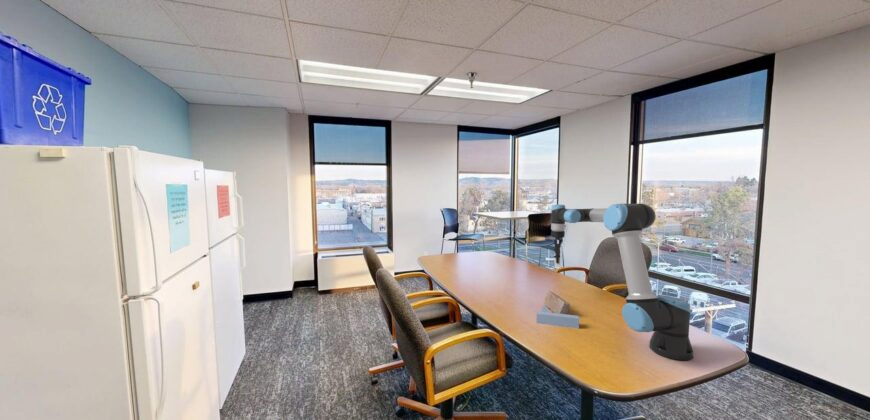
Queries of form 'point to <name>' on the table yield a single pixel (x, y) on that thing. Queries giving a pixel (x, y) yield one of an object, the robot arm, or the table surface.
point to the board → (557, 319)
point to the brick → (556, 303)
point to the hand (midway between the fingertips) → (556, 266)
